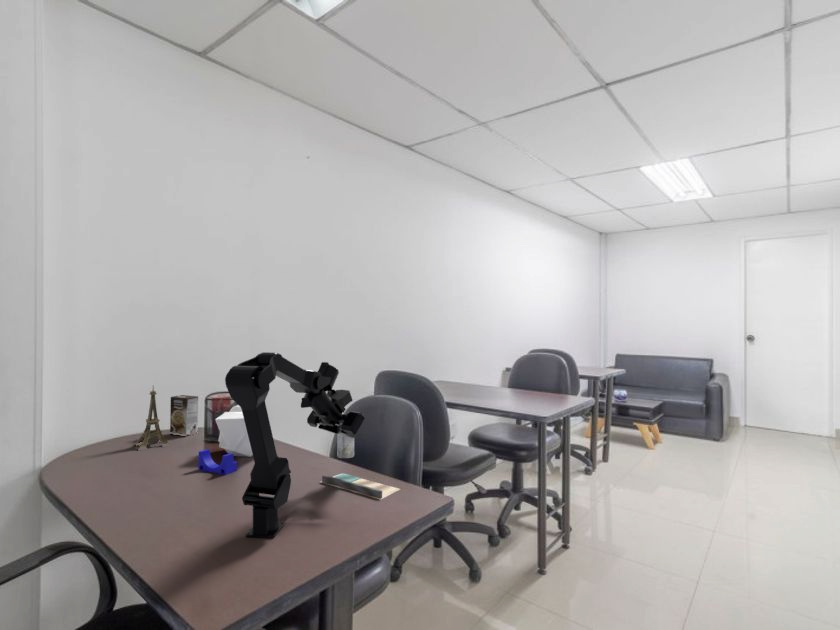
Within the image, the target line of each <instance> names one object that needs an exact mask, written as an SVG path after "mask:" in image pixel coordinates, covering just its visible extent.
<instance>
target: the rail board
mask: <svg viewBox="0 0 840 630" xmlns="http://www.w3.org/2000/svg"><path fill="white" fill-rule="evenodd" d="M320 483H322V484H325V485H329V486H332V487H335V488H339V489H343V490H346V491H349V492H353V493H356V494H360V495H363V496H366V497H369V498H370V497H371V498H373V499H377V500H380V501H381V500H383V499H385V498H387V497H389V496H390V495H391V496H392V494H395V493H397V492H399V491H401V488H398V487H395V486H390V485H387V484H382V483H379V482H375V481H372V480H368V479H365V478H362V477H360V476H354V475H351V474H347V473H339V474H337V475H334V476H333V475H332V476H329V475H327V474H322V476H321V481H320Z"/></svg>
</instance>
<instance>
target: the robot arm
mask: <svg viewBox="0 0 840 630" xmlns="http://www.w3.org/2000/svg"><path fill="white" fill-rule="evenodd" d="M339 373H340V371H339V369H338V368H336V367H335V366H334V365H331V364H329V362H328V361H327V362H326V361H322V362H321V363H320V365H319V368H318V370H317V371H316V370H309V369H303V368H302V367H300V366H299V365H297V364H295V363H294V362H292V361H290V360H288V359H287V358H285V357H284V356H283V355H282V354H281V353H278V352H268V351H267V352H266V351H265V352H261V353H258V354H257V355H256V356H254V357H252V358H250V359H247V360H245V361H242V362H240V363H238V364H237V365H234V366H231V368H230V369H229V370H228V372H227V373H226V375H225V378H224V381H225V382H224V383H225V386H226V389H227V392H228V394H229V397H230V399H232V400H233V401H234V402H235V403H236V404H237V405H239V406H240V407H241V409H242V413H243V417H244V421H245V425H246V429H247V433H248V437H249V442H250V446H251V450H252V454H253V455H252V457H253V461H254V464H253V466H252V469H251V471H250V474H249V476H250V481H249V483H248V485H247V486H246V489H245V491H244V493H243V495H242V498H241V500H242V504H243V506H250V507H251V508H252V509H251V510H252V516H251V517H252V518H251V519H252V523H251V524H252V526H251V528H250V529H249V530H248V531H247V532H246V533H245V536H246V537H248V538H249V537H250V538H275V537H276V536H277V535H278V533H279V532H280V530H281V529H283V527H284V526H285V522H283V521H282V522H280V520H279V519H280V507H282V506H283V505H285V504H286V503H288V500H289V499H288V498H289V495H290V490H291V484H292V477H291V473H292V471H291V469H290V465H289V464H290V463H289V460H288V458H287V457H281V456H280V457H279V455H278V454H277V450H276V449H277V448H276V444H275V440H274V437H273V436H274V435H273V433H272V431H273V430H272V427H271V422H270V419H269V414H268V409H267V405H266V399H267V396H268V394H269V392H270V390H271V389H270V384H271V383H272V382H273V381H274V380H275V379H276V377H277V378H280V379H282V380H284V381H285V382H287V383H289V387H290V389H291V390H293V391H294V392H295V393H299V394H304V396H303V397H301V402H300V408H301V409H304V408H307V409H308V408H310V409H312V410H311V412H310V413H309V415H308V417H307V418H306V420H307V421H306V423H307V425H309V426H310V427H313V428H317V427H318V429H320V430H323V431H327V432H329V433H333V434H335V435H337V428H338V425H340V423H342V430H341V432H340V433H343V434H345V435H348V436H350V437H352V438H354V439H356V438H357V436H358V435H357V434H358V431H359V429H360V428H361V426H362V424H363V422H364V421H365V419H366V417H365V415H364V414H363V412H361V411H356V410H355V411H354V410H352V411H349V412H348V413H346V414H343V413H345V411H346V410H347V409H346V408H345V407H346V406H348V405H349V404H350V403H351V402H353V397H352V395H351V392H350V391H351V390H347V389H333V387H334V385H335V383H336V381H337V378H338V376H339ZM260 494H261V495H260ZM266 495H268V496H266ZM269 495H270V496H269Z"/></svg>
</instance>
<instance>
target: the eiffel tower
mask: <svg viewBox="0 0 840 630" xmlns="http://www.w3.org/2000/svg"><path fill="white" fill-rule="evenodd" d="M154 387H155V386H152V390H151V391H150V390H149V393H148V394H149V395H150V402H149V410H148V416H147V418H146V419H145V422H146V425H145V429H144V430H143V433H142V435H141V436H140V437H139V438H138V439H137V440H136V443H140V442H142V444H141V445H140V446H139V448H140V447H147V446H148V443H149V440H150V439H151V438H157V440H158V439H159V440H160V441H161V444H162V443H163V444H167V443H169V441H168V440H167V439H166V437H165V436H164V435H163V434H162V430H161V428H160V424H159V422H160V419H159V418H158V411H157V401H156V395H157V390H155V388H154ZM152 425H154V428H155V429H151V428H152V427H151V426H152Z"/></svg>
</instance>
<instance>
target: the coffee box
mask: <svg viewBox="0 0 840 630" xmlns="http://www.w3.org/2000/svg"><path fill="white" fill-rule="evenodd" d="M169 411H170V415H169V416H170V418H169V419H170V421H169V424H170V425H169V433H170V432H172V433H179V434H190V433H194V432H197V431H199V429H198V425H199V420H198V419H199V396H197V395H185V394H182V395H175V396H173V395H172V396H171V397H170V410H169ZM197 433H198V432H197Z"/></svg>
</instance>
